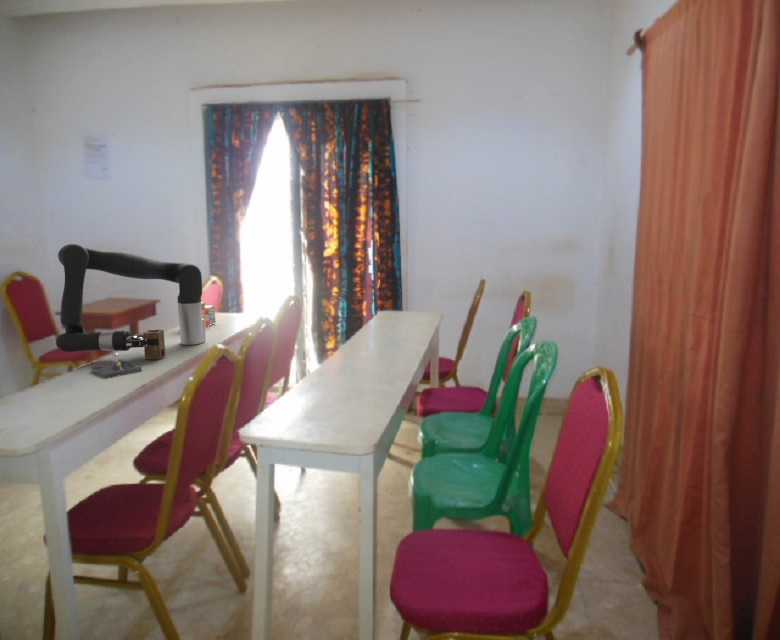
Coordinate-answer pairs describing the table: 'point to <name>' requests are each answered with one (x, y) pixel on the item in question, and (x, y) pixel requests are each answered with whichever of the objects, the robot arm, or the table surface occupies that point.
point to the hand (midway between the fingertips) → (160, 340)
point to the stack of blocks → (208, 314)
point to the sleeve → (154, 350)
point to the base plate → (116, 368)
